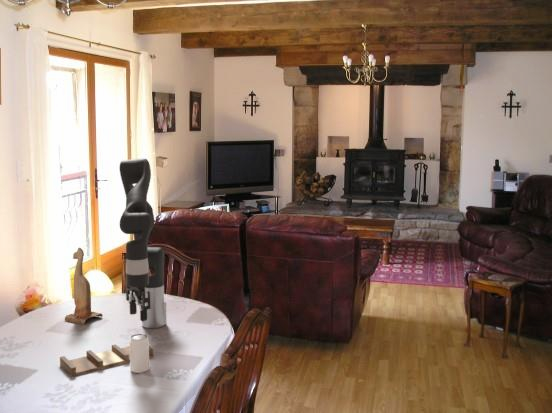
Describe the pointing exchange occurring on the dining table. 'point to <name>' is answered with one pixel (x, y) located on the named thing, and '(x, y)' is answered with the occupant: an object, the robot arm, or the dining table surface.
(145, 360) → the can
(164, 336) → the dining table surface
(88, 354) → the notch rack
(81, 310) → the bird sculpture
